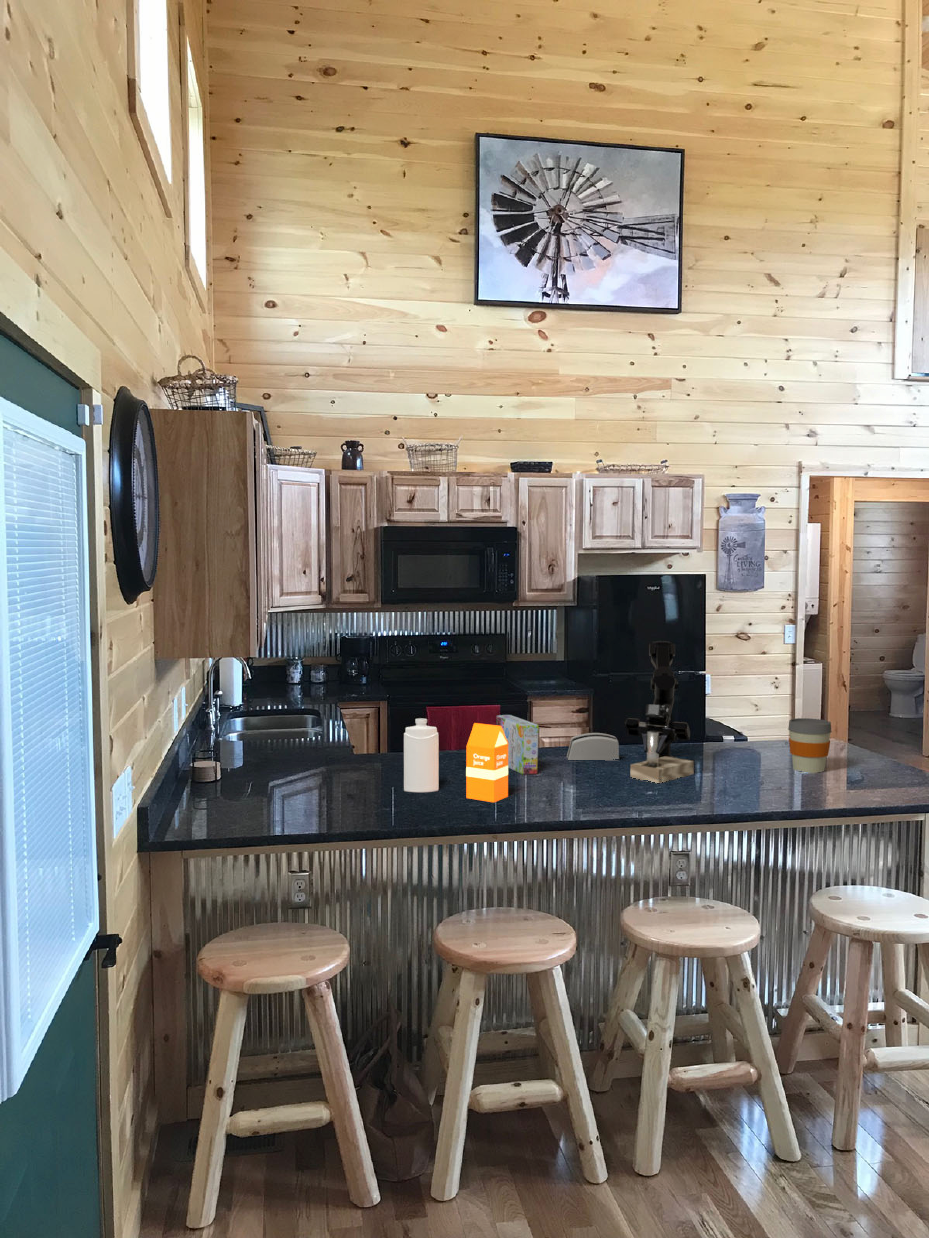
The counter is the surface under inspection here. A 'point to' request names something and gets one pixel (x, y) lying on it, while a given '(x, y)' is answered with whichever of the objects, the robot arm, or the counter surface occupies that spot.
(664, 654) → the robot arm
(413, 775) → the squeeze bottle
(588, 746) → the napkin holder
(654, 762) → the steel peg
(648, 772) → the birch hole board
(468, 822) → the counter surface
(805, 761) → the reusable coffee cup
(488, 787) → the orange juice
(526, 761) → the snack box
